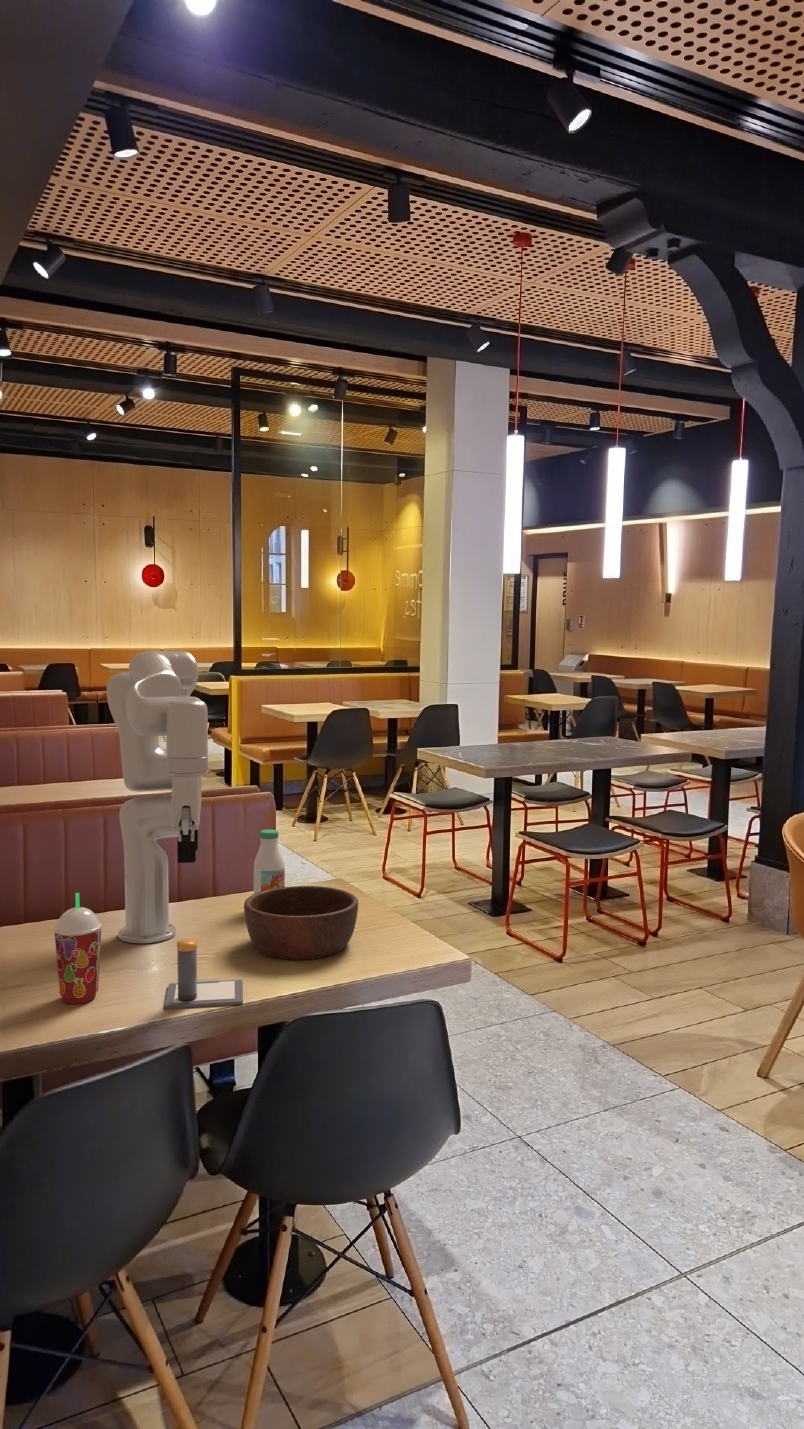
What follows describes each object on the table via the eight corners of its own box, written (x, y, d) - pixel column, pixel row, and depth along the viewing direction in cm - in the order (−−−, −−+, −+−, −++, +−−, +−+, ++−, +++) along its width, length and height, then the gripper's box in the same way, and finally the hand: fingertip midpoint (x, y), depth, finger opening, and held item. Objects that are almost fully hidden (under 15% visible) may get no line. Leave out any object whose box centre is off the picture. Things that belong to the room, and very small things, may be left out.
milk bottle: (249, 913, 225) (249, 833, 223) (259, 904, 232) (259, 827, 231) (279, 915, 224) (279, 834, 222) (288, 906, 231) (288, 828, 230)
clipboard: (168, 986, 177) (168, 980, 177) (242, 982, 179) (242, 976, 179) (164, 1009, 166) (164, 1003, 166) (242, 1004, 168) (242, 998, 168)
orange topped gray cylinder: (177, 995, 170) (177, 939, 169) (197, 993, 171) (197, 938, 170) (177, 1002, 167) (176, 945, 166) (197, 1001, 168) (196, 944, 167)
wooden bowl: (342, 924, 217) (342, 881, 216) (371, 959, 194) (371, 911, 193) (236, 933, 210) (236, 889, 209) (253, 970, 186) (253, 921, 185)
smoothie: (108, 989, 175) (106, 887, 173) (95, 1007, 166) (93, 899, 165) (64, 990, 174) (62, 887, 173) (48, 1007, 166) (46, 899, 164)
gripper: (169, 760, 178) (170, 846, 180) (163, 772, 161) (164, 868, 163) (209, 759, 180) (209, 845, 181) (206, 772, 163) (207, 866, 164)
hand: (188, 856), depth 172 cm, fingers open, 9 cm apart
